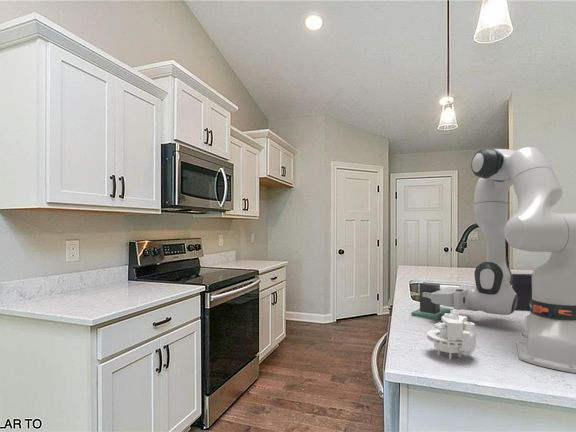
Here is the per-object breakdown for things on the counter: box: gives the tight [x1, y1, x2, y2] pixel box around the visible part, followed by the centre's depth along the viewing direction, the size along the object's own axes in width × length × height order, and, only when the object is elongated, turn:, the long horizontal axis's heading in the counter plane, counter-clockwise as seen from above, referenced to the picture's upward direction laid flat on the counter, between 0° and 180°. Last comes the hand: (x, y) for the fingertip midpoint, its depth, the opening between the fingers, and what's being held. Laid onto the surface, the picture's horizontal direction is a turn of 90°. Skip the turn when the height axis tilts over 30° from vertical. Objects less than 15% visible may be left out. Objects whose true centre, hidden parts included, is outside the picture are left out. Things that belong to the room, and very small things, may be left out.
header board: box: [410, 306, 454, 321], centre depth 140 cm, size 18×10×3 cm, turn 138°
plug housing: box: [419, 281, 441, 314], centre depth 138 cm, size 5×6×11 cm
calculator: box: [511, 273, 532, 312], centre depth 148 cm, size 11×4×15 cm, turn 84°
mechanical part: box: [426, 309, 477, 360], centre depth 95 cm, size 11×12×12 cm
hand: (427, 292), depth 138 cm, fingers open, 8 cm apart
